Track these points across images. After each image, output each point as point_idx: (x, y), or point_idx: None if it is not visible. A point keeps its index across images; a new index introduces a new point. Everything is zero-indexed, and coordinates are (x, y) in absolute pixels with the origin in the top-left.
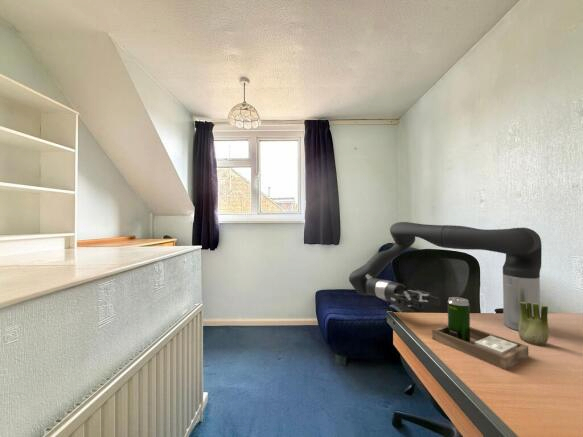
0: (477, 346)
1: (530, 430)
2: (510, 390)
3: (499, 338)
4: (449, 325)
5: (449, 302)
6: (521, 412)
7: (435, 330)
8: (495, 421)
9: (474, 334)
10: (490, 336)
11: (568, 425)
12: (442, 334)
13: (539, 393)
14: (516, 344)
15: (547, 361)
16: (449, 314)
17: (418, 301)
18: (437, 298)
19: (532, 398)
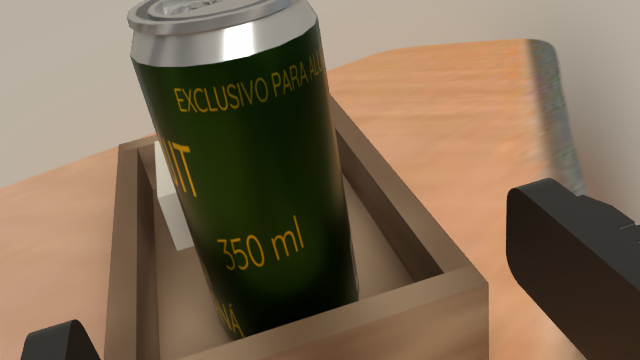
0: (350, 136)
1: (486, 41)
2: (408, 99)
3: (156, 175)
4: (345, 219)
5: (310, 18)
6: (458, 62)
7: (462, 276)
8: (547, 46)
9: (147, 302)
10: (174, 189)
11: (390, 53)
12: (443, 233)
13: (336, 97)
14: (157, 142)
15: (84, 192)
16: (332, 130)
17: (581, 201)
18: (69, 332)
19: (378, 87)
